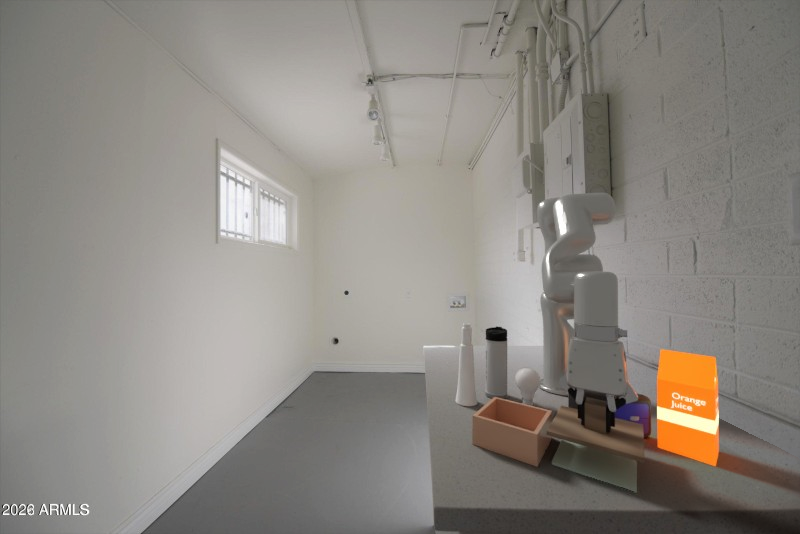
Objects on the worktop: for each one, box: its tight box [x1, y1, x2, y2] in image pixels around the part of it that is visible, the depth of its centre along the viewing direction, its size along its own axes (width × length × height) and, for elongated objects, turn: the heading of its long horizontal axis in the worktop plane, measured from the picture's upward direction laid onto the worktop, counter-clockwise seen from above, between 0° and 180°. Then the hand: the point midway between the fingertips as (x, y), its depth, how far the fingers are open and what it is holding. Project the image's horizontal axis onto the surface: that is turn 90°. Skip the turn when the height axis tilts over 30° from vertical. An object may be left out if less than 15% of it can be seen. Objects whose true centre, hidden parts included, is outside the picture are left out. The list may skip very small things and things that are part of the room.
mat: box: [551, 439, 638, 493], centre depth 63 cm, size 16×13×1 cm
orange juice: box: [656, 348, 720, 467], centre depth 66 cm, size 8×9×20 cm
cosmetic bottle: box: [455, 322, 478, 407], centre depth 89 cm, size 6×6×22 cm
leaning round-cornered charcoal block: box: [567, 388, 652, 439], centre depth 73 cm, size 16×5×9 cm, turn 61°
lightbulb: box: [514, 366, 541, 406], centre depth 85 cm, size 6×6×11 cm
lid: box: [547, 397, 646, 464], centre depth 63 cm, size 15×15×6 cm
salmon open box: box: [471, 397, 553, 467], centre depth 69 cm, size 13×13×6 cm
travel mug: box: [484, 326, 508, 399], centre depth 94 cm, size 6×7×20 cm
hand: (596, 425), depth 63 cm, fingers closed on lid, 3 cm apart
